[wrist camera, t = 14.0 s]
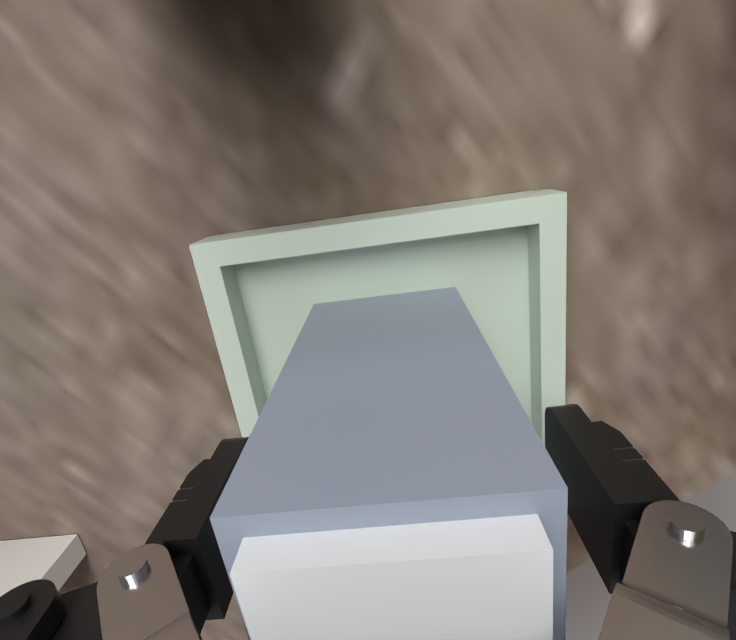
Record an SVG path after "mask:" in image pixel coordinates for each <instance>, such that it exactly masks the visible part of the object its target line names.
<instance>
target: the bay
mask: <svg viewBox="0 0 736 640" xmlns="http://www.w3.org/2000/svg"><path fill="white" fill-rule="evenodd" d="M85 555H86V552H85V549H84V547H83V545H82V543H81V541H80V539H79V537H78V534H75V535H63V536H52V537H40V538H29V539H17V540H6V541H0V597H1V596H2V595H4V594H5V593H7V592H8V591H10V590H11V589H13V588H15V587H17V586H19V585H22V584H24V583H26V582H30V581H33V580H38V579H46V580H50V581H52V582H53V583H54V585H55V586H56V588H57V590H58V591H59V590H60V588H61V587H62V586H63V584H64V583H65V582H66V580H67V579H68V578H69V576H70V575H71V574H72V572H73V571H74V570H75V568H76V567H77V566H78V564H79V563H80V562H81V560H82V559H83V558H84V556H85Z"/></svg>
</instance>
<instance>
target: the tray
mask: <svg viewBox="0 0 736 640" xmlns="http://www.w3.org/2000/svg"><path fill="white" fill-rule="evenodd" d="M189 247H190V251H191V255H192V258H193V262H194V265H195V269H196V273H197V276H198V280H199V283H200V287H201V291H202V294H203V298H204V301H205V305H206V309H207V312H208V316H209V319H210V323H211V327H212V330H213V334H214V337H215V341H216V345H217V348H218V352H219V355H220V359H221V363H222V366H223V370H224V373H225V377H226V381H227V384H228V388H229V391H230V395H231V399H232V402H233V406H234V409H235V413H236V417H237V420H238V424H239V427H240V431H241V435H242V437H249V436H250V434H251V432H252V430H253V428H254V426H255V424H256V422H257V420H258V418H259V416H260V414H261V411H262V409H263V407H264V405H265V403H266V401H267V399H268V397H269V395H270V393H271V391H272V389H273V387H274V385H275V383H276V381H277V379H278V376H279V374H280V372H281V370H282V368H283V366H284V364H285V362H286V360H287V358H288V356H289V354H290V352H291V350H292V348H293V346H294V343H295V341H296V339H297V337H298V335H299V333H300V331H301V329H302V327H303V325H304V323H305V321H306V319H307V317H308V315H309V313H310V311H311V308H312V306H313V304H317V303H326V302H334V301H342V300H350V299H359V298H367V297H375V296H383V295H392V294H400V293H408V292H416V291H425V290H433V289H441V288H449V287H456V289H457V291H458V292H459V294H460V296H461V298H462V300H463V301H464V303H465V305H466V307H467V308H468V310H469V312H470V314H471V316H472V317H473V319H474V321H475V323H476V325H477V326H478V328H479V330H480V332H481V334H482V335H483V337H484V339H485V341H486V342H487V344H488V346H489V348H490V350H491V351H492V353H493V355H494V357H495V359H496V360H497V362H498V364H499V366H500V368H501V369H502V371H503V373H504V375H505V376H506V378H507V380H508V382H509V384H510V385H511V387H512V389H513V391H514V393H515V394H516V396H517V398H518V400H519V402H520V403H521V405H522V407H523V409H524V411H525V412H526V414H527V416H528V418H529V419H530V421H531V423H532V425H533V427H534V428H535V430H536V432H537V434H538V436H539V437H540V439H541V441H542V443H543V445H544V446H545V409H546V408H547V407H552V406H562V405H565V361H566V250H567V192H563V191H558V190H552V189H547V188H545V189H538V190H531V191H524V192H517V193H510V194H503V195H496V196H488V197H481V198H474V199H467V200H460V201H453V202H446V203H439V204H432V205H425V206H418V207H410V208H403V209H396V210H389V211H382V212H375V213H368V214H361V215H354V216H347V217H339V218H332V219H325V220H318V221H311V222H304V223H297V224H290V225H283V226H276V227H269V228H261V229H254V230H247V231H240V232H233V233H226V234H219V235H212V236H208V237H206V238H204V239H201V240H199V241H197V242H195V243H192V244H190V245H189Z"/></svg>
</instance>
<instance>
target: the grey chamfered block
mask: <svg viewBox="0 0 736 640" xmlns="http://www.w3.org/2000/svg"><path fill="white" fill-rule="evenodd" d="M567 508H568V487H567V486H566V484H565V482H564V480H563V479H562V477H561V475H560V473H559V471H558V470H557V468H556V466H555V464H554V462H553V461H552V459H551V457H550V455H549V453H548V452H547V450H546V448H545V446H544V445H543V443H542V441H541V439H540V437H539V436H538V434H537V432H536V430H535V428H534V427H533V425H532V423H531V421H530V419H529V418H528V416H527V414H526V412H525V411H524V409H523V407H522V405H521V403H520V402H519V400H518V398H517V396H516V394H515V393H514V391H513V389H512V387H511V385H510V384H509V382H508V380H507V378H506V376H505V375H504V373H503V371H502V369H501V368H500V366H499V364H498V362H497V360H496V359H495V357H494V355H493V353H492V351H491V350H490V348H489V346H488V344H487V342H486V341H485V339H484V337H483V335H482V334H481V332H480V330H479V328H478V326H477V325H476V323H475V321H474V319H473V317H472V316H471V314H470V312H469V310H468V308H467V307H466V305H465V303H464V301H463V300H462V298H461V296H460V294H459V292H458V291H457V289H456V287H449V288H441V289H433V290H425V291H416V292H408V293H400V294H392V295H383V296H375V297H367V298H359V299H350V300H342V301H334V302H326V303H317V304H313V306H312V308H311V311H310V313H309V315H308V317H307V319H306V321H305V323H304V325H303V327H302V329H301V331H300V333H299V335H298V337H297V339H296V341H295V343H294V346H293V348H292V350H291V352H290V354H289V356H288V358H287V360H286V362H285V364H284V366H283V368H282V370H281V372H280V374H279V376H278V379H277V381H276V383H275V385H274V387H273V389H272V391H271V393H270V395H269V397H268V399H267V401H266V403H265V405H264V407H263V409H262V411H261V414H260V416H259V418H258V420H257V422H256V424H255V426H254V428H253V430H252V432H251V434H250V436H249V438H248V440H247V442H246V444H245V446H244V449H243V451H242V453H241V455H240V457H239V459H238V461H237V463H236V465H235V467H234V469H233V471H232V473H231V475H230V477H229V479H228V481H227V484H226V486H225V488H224V490H223V492H222V494H221V496H220V498H219V500H218V502H217V504H216V506H215V508H214V510H213V512H212V514H211V516H210V521H211V524H212V527H213V530H214V533H215V537H216V540H217V543H218V546H219V549H220V552H221V555H222V558H223V561H224V564H225V567H226V570H227V573H228V577H229V580H230V583H231V586H232V589H233V592H234V595H235V598H236V601H237V604H238V607H239V610H240V614H241V617H242V620H243V623H244V626H245V629H246V632H247V635H248V638H249V640H565V616H566V615H565V614H566V562H567Z"/></svg>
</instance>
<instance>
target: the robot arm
mask: <svg viewBox="0 0 736 640" xmlns="http://www.w3.org/2000/svg"><path fill="white" fill-rule="evenodd" d="M248 438H249V437H242V438H233V439H223V440H222V441H221V442H220V443H219V445H218V447H217V448H216V450H215V452H214V454H213V455H212V457H211V459H206V460H203V461H202V462H201V463H200V464H199V465H197V466H196V467H195V468H194V469H193V470H192V471H191V472H190V473H189V474H188V475H187V477H186V479H185V480H184V482H183V483H182V485H181V487H180V490H178V491H177V493H176V495H175V496H174V498H173V502H172V503H170V504H169V506H168V508H167V509H166V511H165V512H164V514H163V516H162V517H161V519H160V520H159V522H158V524H157V525H156V527H155V528H154V530H153V532H152V533H151V535H150V537H149V538H148V540H147V541H146V543H145V545H141V546H138V547H136V548H133V549H131V550H129V551H127V552H126V553H124V554H122V555H121V556H120V557H118V558H117V559H116V560H114V561H113V562H112V563H111V564H110V565H109V566H108V567H107V568H106V570H105V571H104V572H103V574H102V575H101V577H100V579H99V581H98V582H96V583H93V584H91V585H88V586H85V587H82V588H79V589H76V590H73V591H70V592H67V593H64V594H61V595H60V594H59V592H58V590H57V588H56V586H55V585H54V583H53V582H52V581H50V580H46V579H38V580H33V581H30V582H26V583H24V584H22V585H19V586H17V587H15V588H13V589H11V590H10V591H8V592H7V593H5V594H4V595H2V596H1V597H0V640H202V638H201V635H200V633H201V630H202V628H203V625H204V623H205V620H213V619H224V618H225V615H226V612H227V609H228V606H229V603H230V601H231V598H232V595H233V589H232V586H231V583H230V580H229V577H228V573H227V570H226V567H225V564H224V561H223V558H222V555H221V552H220V549H219V546H218V543H217V540H216V537H215V533H214V530H213V527H212V524H211V521H210V516H211V514H212V512H213V510H214V508H215V506H216V504H217V502H218V500H219V498H220V496H221V494H222V492H223V490H224V488H225V486H226V484H227V481H228V479H229V477H230V475H231V473H232V471H233V469H234V467H235V465H236V463H237V461H238V459H239V457H240V455H241V453H242V451H243V449H244V446H245V444H246V442H247V440H248ZM545 448H546V450H547V452H548V453H549V455H550V457H551V459H552V461H553V462H554V464H555V466H556V468H557V470H558V471H559V473H560V475H561V477H562V479H563V480H564V482H565V484H566V486H567V487H568V508H567V513H568V514H569V516H570V518H571V520H572V522H573V524H574V526H575V528H576V530H577V532H578V534H579V536H580V538H581V540H582V541H583V543H584V545H585V547H586V549H587V551H588V553H589V555H590V557H591V559H592V561H593V563H594V564H595V566H596V568H597V570H598V572H599V574H600V576H601V578H602V580H603V582H604V584H605V586H606V588H607V589H608V592H609V593H610V594H612V597H611V600H610V603H609V607H608V610H607V613H606V616H605V620H604V623H603V626H602V629H601V632H600V636H599V639H598V640H736V532H732V531H729V529H728V527H727V526H726V525H725V524H724V523H723V522H722V521H721V520H720V519H718V518H717V517H716V516H714V515H713V514H712V513H710V512H708V511H706V510H705V509H702V508H700V507H698V506H695V505H692V504H689V503H686V502H681V501H680V500H679V499H678V498H677V497H676V495H675V494H674V493H673V492H672V491H671V490H670V488H669V487H668V486H667V485H666V484H665V483H664V482H663V480H662V479H661V478H660V477H659V476H658V475H657V473H656V472H655V471H654V470H653V469H652V468H651V467H650V465H649V464H648V463H647V462H646V461H645V460H643V458H642V456H641V455H640V454H639V453H638V452H637V450H636V449H633V446H632V445H631V443H630V442H629V441H628V440H627V439H626V438H625V437H624V435H623V434H622V433H621V432H620V431H618V430H616V429H615V428H613V427H611V426H609V425H608V424H606V423H604V422H603V421H598V422H591V421H590V419H589V418H588V417H587V416H586V414H585V413H584V412H583V410H582V409H581V408H580V407H579V406H578V405H577V404H571V405H562V406H552V407H547V408H546V409H545Z"/></svg>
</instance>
